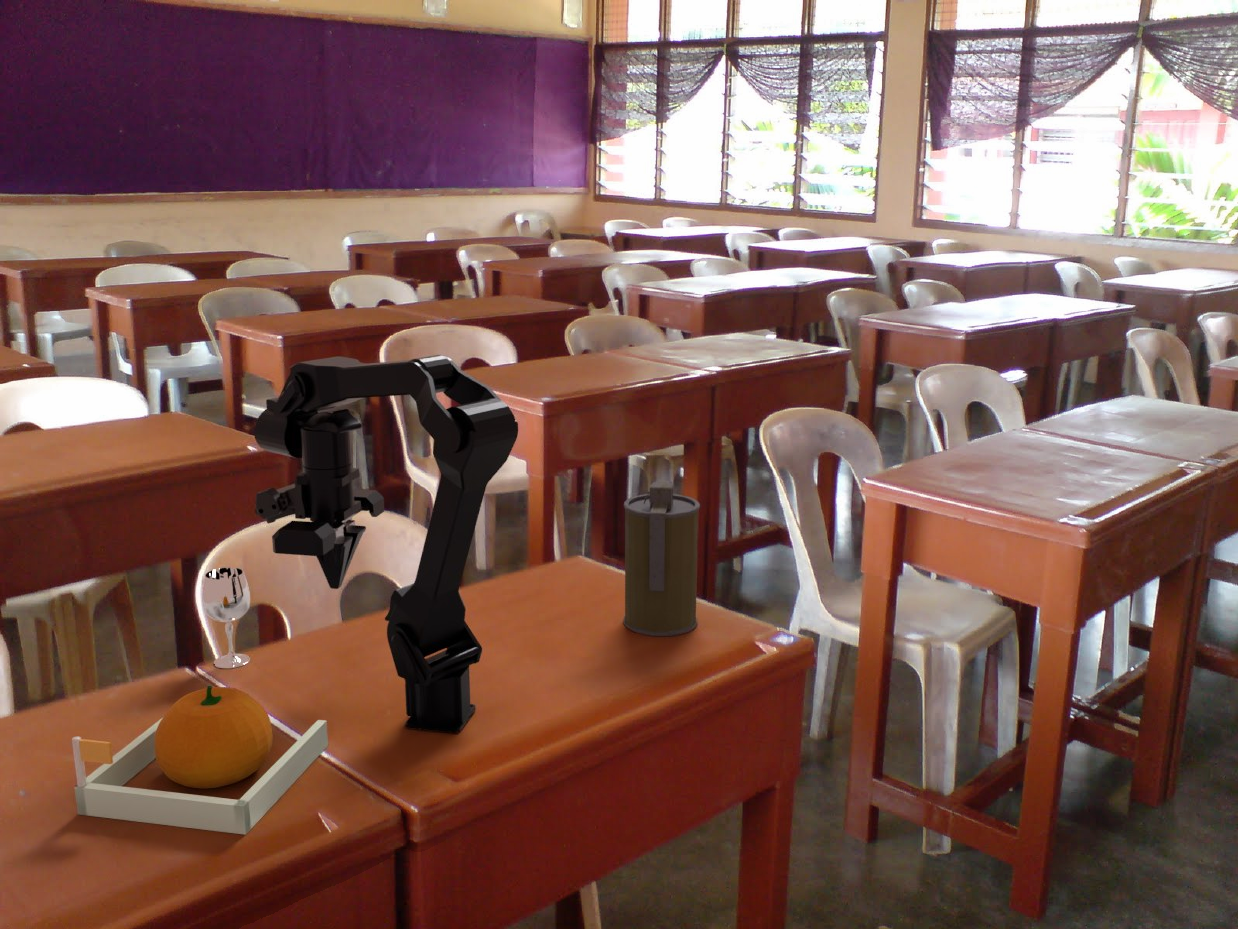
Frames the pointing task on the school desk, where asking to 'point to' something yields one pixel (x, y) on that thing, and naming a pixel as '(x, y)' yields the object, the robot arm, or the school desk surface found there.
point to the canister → (661, 562)
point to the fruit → (213, 738)
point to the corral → (177, 809)
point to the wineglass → (227, 606)
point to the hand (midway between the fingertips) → (335, 587)
